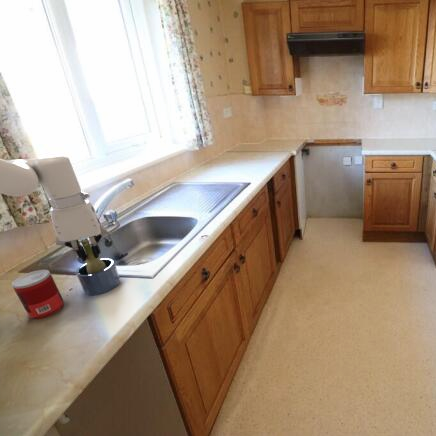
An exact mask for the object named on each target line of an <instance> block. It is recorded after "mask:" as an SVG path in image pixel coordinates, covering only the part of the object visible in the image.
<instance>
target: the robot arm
mask: <svg viewBox="0 0 436 436" xmlns="http://www.w3.org/2000/svg"><path fill="white" fill-rule="evenodd" d="M39 185H41V186H42V188H43V190H44V192H45V195H46V198H47V200H48V202H49V204H50V206H51V207H50V208H49V214H50V218H51V222H52V226H53V229H54V232H55V234H56V239H55V245H56V246H62V247H63V246H65V247H68V248H70V249H72V250H74V251H75V252H76V254H77V257H78V258H79V259H81V260H82V262H86V260H87V254H86V251H85V249H84V247H83V245H82V244H80V241H79V240H83V239H85V238H87V239H88V240H89V242H90V244H91V245H90V247H91V249H92V251H93V254H94V256H95V258H100V255H101V253H102V251H101V248H100V245H99V242H100V241H101V240H102V238H104V237H105V236H107V235H108V234H109V229H107V228H106V227H105V226H104V225H102V222H101V219H100V217H99V216H98V214H97V211H96V209H95V207H94V206H93V204H92V202H91V201H90V200H89V198H91V194H90V192H84V191H83V190H82V188H81V185H80V183H79V181H78V178H77V176H76V173H75V170H74V167H73V165H72V163H71V160H70V158H69V157H68V156H67V155H65V154H61V153H59V154H57V153H56V154H49V155H44V156H39V157H33V158H18V159H17V158H15V159H8V160H5V159H2V158H0V194H2V195H5V196H8V197H15V198H20V197H26V196H29V195H32V194H33V193H34V192H36V190H37V189H38V188H39Z"/></svg>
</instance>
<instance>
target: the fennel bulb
mask: <svg viewBox="0 0 436 436" xmlns="http://www.w3.org/2000/svg"><path fill="white" fill-rule="evenodd" d="M90 244H91V243H90V240H89V238H88V237H87V238H82V241H81V245H82V246H83V248H84V250H85V253H86V255H87V258H86V260H85V264H86V267H87V272H88V274H89V275H91V274H95V273H98V272H101V271H103V270H105V269H106V268H107V266H106V264H105V263H104V262H103V261H102V260H101V259H102V258H100V257H98V258H95V256H94V254H93V251H92V249H91V245H90Z"/></svg>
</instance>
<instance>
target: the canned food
mask: <svg viewBox="0 0 436 436" xmlns="http://www.w3.org/2000/svg"><path fill="white" fill-rule="evenodd" d="M11 286H12V288H13V290H14V292H15V294H16V295H17V297H18V299H19V301H20V303H21V305H22V306H23V308H24V310H25V311H26V314H27V315H28V316H29V317H30V318H31V319H35V320H36V319H38V320H39V319H42V318H47V317H49V316H51V315H54V314H55V313H57V312H59V310H61V309H62V308H63V307H64V304H65V301H64V299H63V296H62V294H61V292H60V290H59V287H58V285H57V284H56V281H55V279H54V277H53V276H52V274H51V272H50V270H49V269H37V270H33V271H30V272H26V273H25V274H22V275H21V276H18V277H17V278H16V279H14V280H13V281H12V283H11Z"/></svg>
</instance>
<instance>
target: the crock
mask: <svg viewBox="0 0 436 436" xmlns="http://www.w3.org/2000/svg"><path fill="white" fill-rule="evenodd" d="M100 259H101V260H102V261H103V262H104V263H105V264H106V266H107V268H106V269H105V270H103V271H101V272H98V273H95V274H91V275H89V274H88V272H87V267H86V263H84V264H83V265H81V266H80V267H79V268H77V269H76V271H75V274H76V278H77V279H78V282H79V285H80V287H81V289H82V291H83V292H84V294H85V295H87V296H100V295H103V294H106V293H108V292H110V291H112V290H114V289H115V288H116V287H118V286H119V285H120V283H121V276H120V275H119V274H120V273H119V272H118V269H117V266H116V264H115V261H114V260H113V259H112V258H107V257H105V258H100Z"/></svg>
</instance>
